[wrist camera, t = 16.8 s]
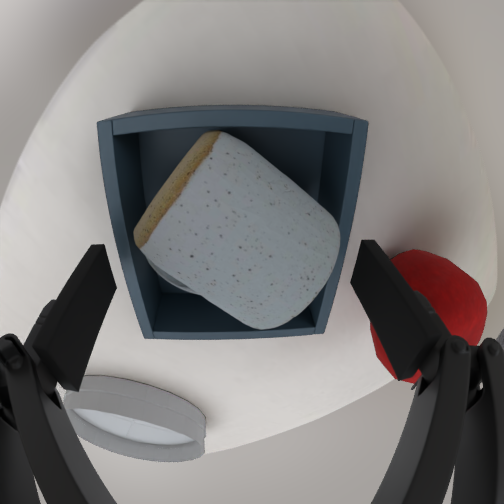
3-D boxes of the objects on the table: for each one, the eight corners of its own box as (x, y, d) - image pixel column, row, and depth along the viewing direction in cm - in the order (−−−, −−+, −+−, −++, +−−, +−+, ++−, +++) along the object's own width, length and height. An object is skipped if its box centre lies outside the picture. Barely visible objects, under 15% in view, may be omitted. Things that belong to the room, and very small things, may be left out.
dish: (230, 404, 33) (232, 437, 29) (182, 445, 43) (182, 468, 38) (63, 353, 26) (51, 386, 22) (70, 412, 36) (64, 435, 32)
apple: (451, 252, 22) (517, 328, 13) (393, 321, 27) (435, 405, 17) (395, 205, 19) (486, 298, 10) (325, 296, 23) (367, 408, 14)
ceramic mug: (215, 111, 14) (201, 132, 8) (318, 194, 17) (366, 265, 11) (126, 241, 18) (85, 321, 12) (219, 295, 22) (217, 382, 15)
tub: (334, 111, 15) (369, 121, 11) (309, 290, 23) (324, 333, 19) (129, 112, 14) (96, 122, 10) (155, 294, 22) (144, 338, 18)
